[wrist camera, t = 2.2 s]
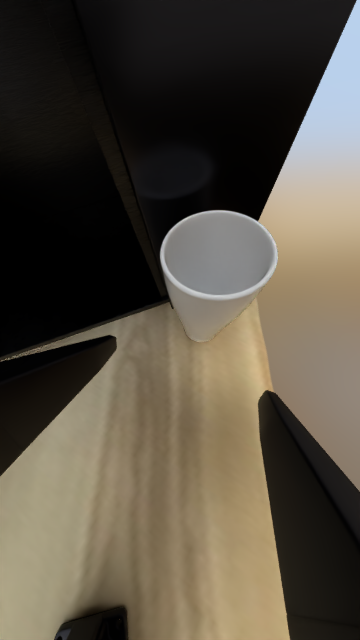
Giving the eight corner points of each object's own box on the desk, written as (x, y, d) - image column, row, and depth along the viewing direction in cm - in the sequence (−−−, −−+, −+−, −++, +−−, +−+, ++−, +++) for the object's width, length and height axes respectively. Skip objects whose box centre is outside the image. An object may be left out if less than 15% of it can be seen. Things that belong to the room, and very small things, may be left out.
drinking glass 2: (174, 313, 23) (147, 225, 9) (213, 302, 23) (246, 196, 9) (186, 353, 21) (175, 318, 7) (229, 340, 21) (308, 277, 7)
